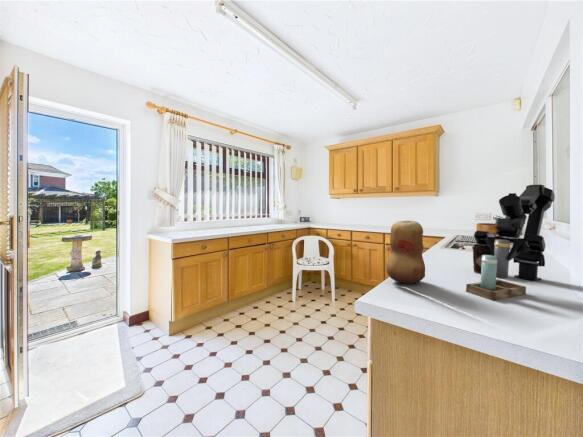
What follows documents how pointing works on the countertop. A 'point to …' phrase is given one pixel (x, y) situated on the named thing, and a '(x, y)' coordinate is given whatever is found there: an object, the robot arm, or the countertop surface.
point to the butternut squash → (406, 252)
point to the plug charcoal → (502, 257)
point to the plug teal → (488, 272)
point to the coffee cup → (479, 256)
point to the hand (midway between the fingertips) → (499, 258)
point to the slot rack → (497, 290)
